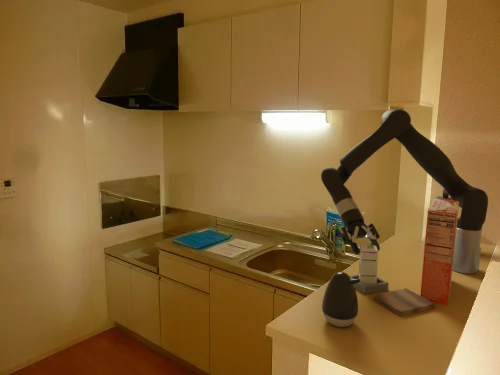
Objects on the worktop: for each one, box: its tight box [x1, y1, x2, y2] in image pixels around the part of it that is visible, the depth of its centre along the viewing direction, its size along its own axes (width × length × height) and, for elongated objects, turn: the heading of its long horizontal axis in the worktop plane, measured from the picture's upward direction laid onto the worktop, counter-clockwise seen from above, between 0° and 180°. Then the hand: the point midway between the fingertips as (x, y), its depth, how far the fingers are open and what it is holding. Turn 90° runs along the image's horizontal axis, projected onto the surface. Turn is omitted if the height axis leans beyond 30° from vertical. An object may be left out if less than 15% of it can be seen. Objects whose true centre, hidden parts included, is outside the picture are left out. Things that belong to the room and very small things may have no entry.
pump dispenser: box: [321, 271, 360, 328], centre depth 109 cm, size 10×10×15 cm
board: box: [372, 287, 436, 317], centre depth 122 cm, size 14×12×2 cm
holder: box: [349, 273, 389, 295], centre depth 134 cm, size 10×10×2 cm
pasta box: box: [419, 197, 460, 306], centre depth 130 cm, size 23×8×30 cm, turn 150°
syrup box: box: [358, 244, 379, 286], centre depth 133 cm, size 6×6×14 cm
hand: (368, 252), depth 133 cm, fingers open, 8 cm apart
